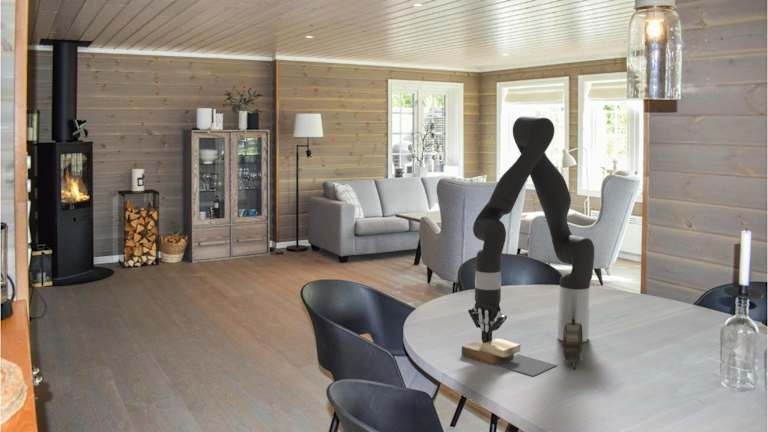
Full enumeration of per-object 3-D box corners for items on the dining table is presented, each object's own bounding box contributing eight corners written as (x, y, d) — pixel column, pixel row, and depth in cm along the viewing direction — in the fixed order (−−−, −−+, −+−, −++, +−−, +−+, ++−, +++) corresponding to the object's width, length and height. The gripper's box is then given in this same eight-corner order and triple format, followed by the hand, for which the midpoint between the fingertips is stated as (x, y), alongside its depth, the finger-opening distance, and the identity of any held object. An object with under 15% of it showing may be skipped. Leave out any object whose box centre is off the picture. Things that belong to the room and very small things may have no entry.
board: (482, 348, 214) (482, 338, 214) (513, 357, 206) (513, 347, 206) (461, 355, 207) (461, 346, 207) (493, 365, 199) (493, 355, 199)
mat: (518, 355, 208) (518, 354, 208) (557, 366, 199) (557, 365, 199) (494, 365, 199) (494, 364, 199) (533, 376, 190) (533, 375, 190)
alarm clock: (579, 371, 194) (581, 314, 192) (559, 369, 196) (561, 312, 194) (582, 359, 204) (585, 305, 202) (563, 357, 206) (565, 303, 204)
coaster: (497, 344, 208) (498, 338, 208) (520, 351, 202) (520, 344, 202) (481, 350, 202) (481, 344, 202) (503, 357, 197) (503, 350, 196)
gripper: (514, 287, 202) (512, 345, 204) (477, 280, 211) (476, 335, 214) (498, 291, 197) (497, 351, 199) (462, 284, 206) (461, 340, 209)
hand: (486, 343), depth 206 cm, fingers closed
